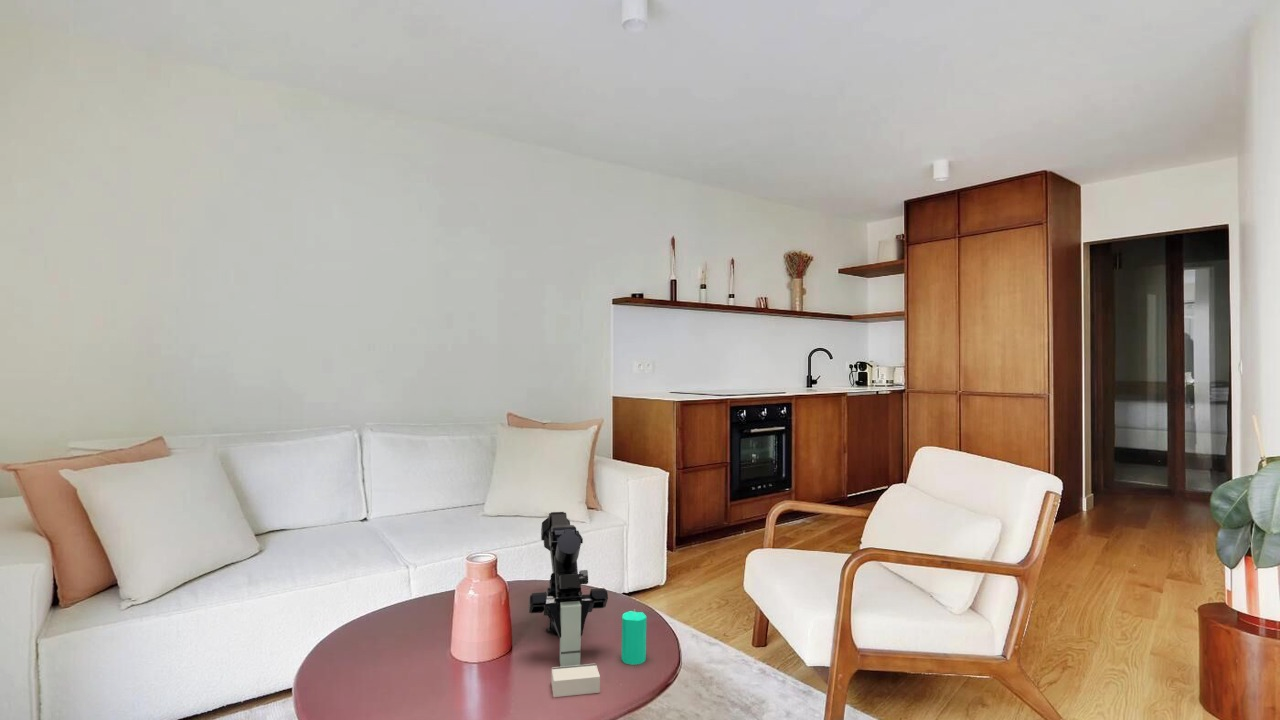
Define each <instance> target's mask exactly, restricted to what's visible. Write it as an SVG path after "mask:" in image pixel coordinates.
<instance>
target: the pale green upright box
mask: <svg viewBox="0 0 1280 720" xmlns="http://www.w3.org/2000/svg"><path fill="white" fill-rule="evenodd" d="M560 626H561V638H559V665H560V667H563V666H573V665H581V649H582V647H581V644H582V643H581V641H582V640H581V637H582V636H581V604H580V601H572V602H560Z"/></svg>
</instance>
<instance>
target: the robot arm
mask: <svg viewBox="0 0 1280 720" xmlns="http://www.w3.org/2000/svg"><path fill="white" fill-rule="evenodd" d="M540 527H541V528H540V529H541V530H540V540H541V541H543V547H544V548H545V549H547V550H548V551H549V552H550V560H551V570H552V571H551V572H552V573H551V574H550V579H549V582H548V583H549V587H548V588H546V591H545V592H544V591H543V592H532V593H531V594H530V595H529V599H528V612H529V614H542V613H543V616H546V617H548V618H549V626H548V627H546V628H545V632H546V633H549V634H551V635H554V636H556V637H558V638H559V639H560V638H561V626H560V602H572V601H580V604H581V637H582V636H583V634H584V628H585V623H586V619H587V617H588V613H592V612H593V609H594V610H595V609H597V610H598V609H604V608H606V605H607V604H608V599H609V595H608V590H607V589H606V588H604V587H602V588H601V587H600V588H591V589H590V592H589V594H583V591H582V587H581V585H587V584H589V574H588V573H589V572H588V569H584V570H578V559H579V555H580V550H581V546H582V544H583V542H584V541H583V540H584V538H583V537H582V535H581V534H580V532H579V530H577V527H576V526H575V525H573V524H571V521H570V519H569V518H567V512H564V511H553V512H552V511H551V512H550V513H549V512H548V517H546V519H544V520H543V521H542V522H541V526H540Z"/></svg>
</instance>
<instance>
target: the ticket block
mask: <svg viewBox="0 0 1280 720" xmlns="http://www.w3.org/2000/svg"><path fill="white" fill-rule="evenodd" d="M598 669H599V668H598V666H597V663H588V664H587V663H585V664H580V665H573V666H562V667H561V666H553V667H551V672H550V673H551V689H552V695H553V698H560V697H570V696H580V695H590V694H599V693H601V675H600V673H599V670H598Z"/></svg>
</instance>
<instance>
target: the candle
mask: <svg viewBox="0 0 1280 720" xmlns="http://www.w3.org/2000/svg"><path fill="white" fill-rule="evenodd" d="M621 618H622V619H621V620H622V621H621V624H622V625H621V662H623V663H624V664H627V665H631V666H632V665H637V664H638V665H641V664H643V663H645V662H646V660H647V659H646V658H647V627H648V625H647V619H648V618H647V615H646V614H645V613H644V612H643V611H641V612H639V611H636V609H635V608H634V609H633V610H630V611H626V612H624V613H623V614H622V616H621ZM638 665H637V666H638Z"/></svg>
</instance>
